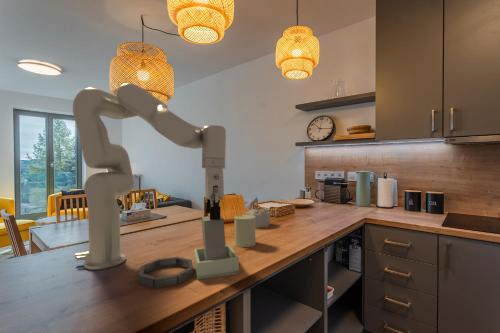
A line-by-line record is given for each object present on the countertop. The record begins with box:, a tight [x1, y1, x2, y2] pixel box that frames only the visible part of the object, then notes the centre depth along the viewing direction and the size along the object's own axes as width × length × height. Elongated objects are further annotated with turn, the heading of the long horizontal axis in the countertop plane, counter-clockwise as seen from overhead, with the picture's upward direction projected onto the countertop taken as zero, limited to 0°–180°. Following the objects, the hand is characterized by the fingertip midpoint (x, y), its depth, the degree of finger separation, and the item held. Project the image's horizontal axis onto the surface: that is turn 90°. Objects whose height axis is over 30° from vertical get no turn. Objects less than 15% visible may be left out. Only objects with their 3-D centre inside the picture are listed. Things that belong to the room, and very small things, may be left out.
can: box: [233, 214, 257, 248], centre depth 105 cm, size 9×9×12 cm
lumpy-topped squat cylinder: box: [245, 208, 271, 229], centre depth 136 cm, size 10×13×9 cm
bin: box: [193, 244, 240, 281], centre depth 80 cm, size 13×13×5 cm
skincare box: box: [201, 215, 226, 261], centre depth 81 cm, size 8×7×16 cm
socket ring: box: [137, 256, 194, 289], centre depth 76 cm, size 15×15×2 cm
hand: (212, 216), depth 80 cm, fingers open, 9 cm apart
